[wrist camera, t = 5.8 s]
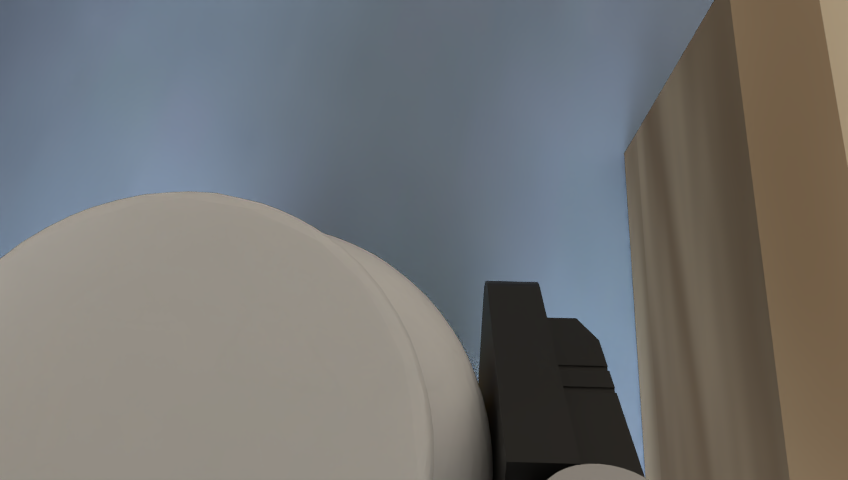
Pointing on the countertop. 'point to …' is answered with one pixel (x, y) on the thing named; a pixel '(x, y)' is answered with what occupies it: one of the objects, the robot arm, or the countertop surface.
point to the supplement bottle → (225, 353)
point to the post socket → (745, 248)
